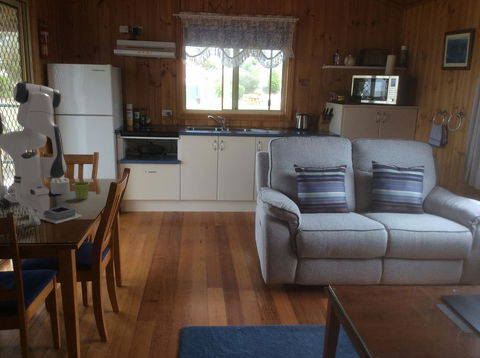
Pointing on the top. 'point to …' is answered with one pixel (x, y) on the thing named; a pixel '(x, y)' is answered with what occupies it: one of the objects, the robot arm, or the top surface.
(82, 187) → the plant pot
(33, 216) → the cylinder
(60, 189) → the lumpy-topped squat cylinder
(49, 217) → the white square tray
